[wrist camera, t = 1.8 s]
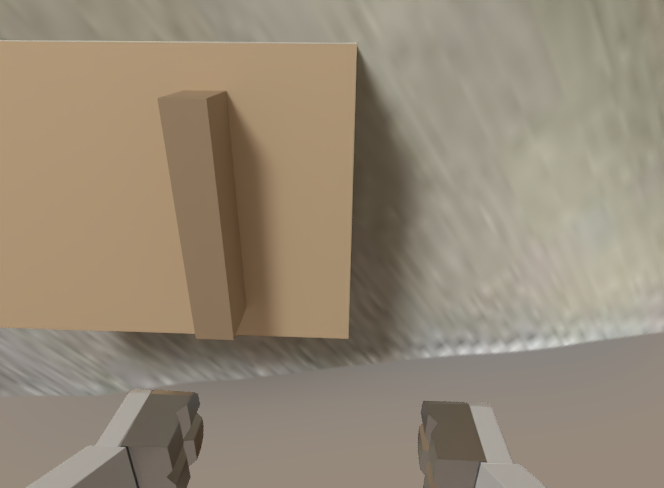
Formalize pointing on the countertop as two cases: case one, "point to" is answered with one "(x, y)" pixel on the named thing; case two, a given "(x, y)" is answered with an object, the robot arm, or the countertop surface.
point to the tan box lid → (177, 187)
